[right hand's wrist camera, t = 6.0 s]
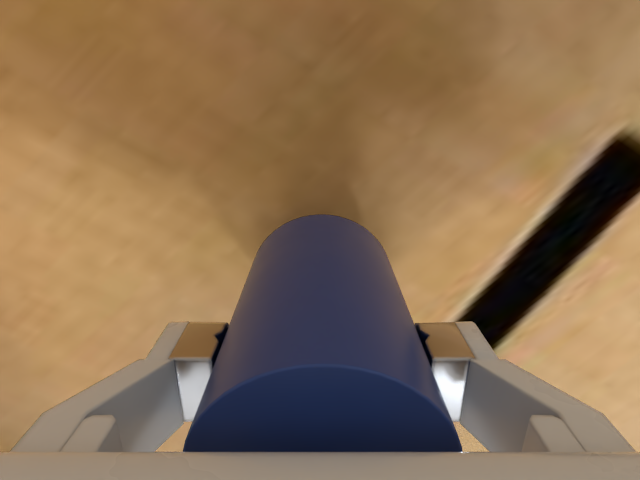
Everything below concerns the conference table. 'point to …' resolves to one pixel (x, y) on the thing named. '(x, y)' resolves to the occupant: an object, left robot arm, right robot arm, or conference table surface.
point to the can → (322, 354)
